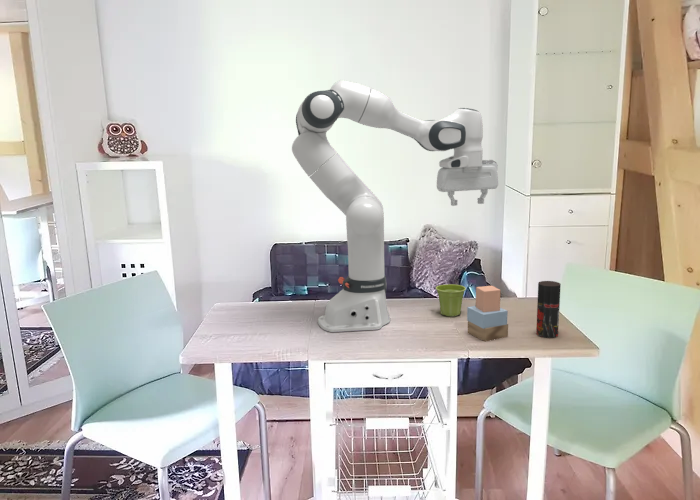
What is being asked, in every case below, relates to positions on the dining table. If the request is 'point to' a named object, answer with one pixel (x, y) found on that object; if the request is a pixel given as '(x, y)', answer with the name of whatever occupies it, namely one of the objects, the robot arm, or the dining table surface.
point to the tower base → (488, 332)
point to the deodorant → (548, 309)
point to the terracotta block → (488, 298)
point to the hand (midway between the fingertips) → (467, 204)
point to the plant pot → (450, 298)
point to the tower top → (486, 317)
